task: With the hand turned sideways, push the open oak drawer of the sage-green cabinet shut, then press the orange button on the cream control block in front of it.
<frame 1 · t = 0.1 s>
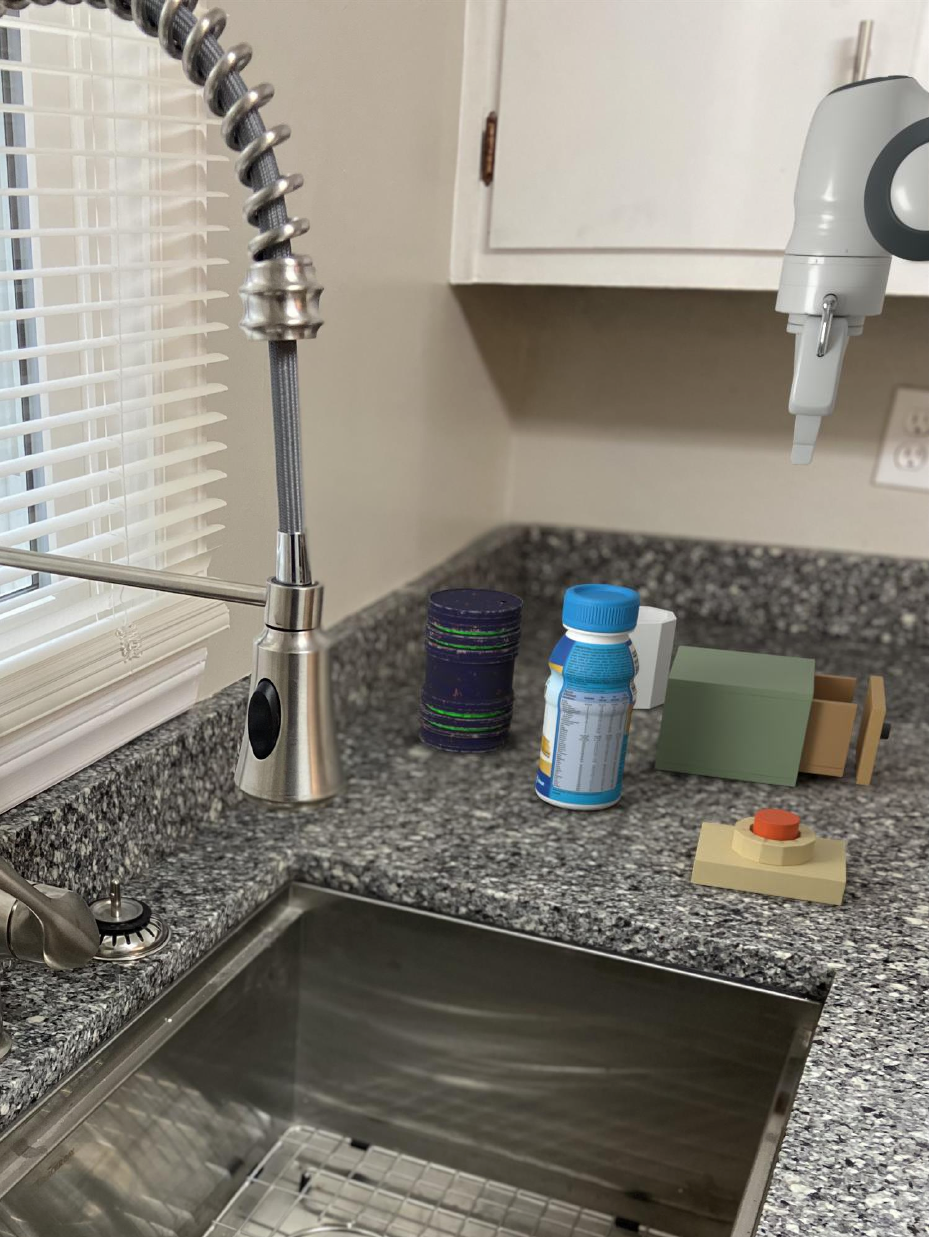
hand: (801, 456, 133), 31 cm above the worktop, tool pointing down, fingers open, 8 cm apart
drawer: (816, 723, 146), point 5 cm above the worktop, slide at 5.5 cm
storage jar: (463, 739, 156), on the worktop
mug: (611, 697, 170), on the worktop
control block: (766, 873, 125), on the worktop
beverage bottle: (576, 798, 141), on the worktop
button: (776, 826, 123), point 4 cm above the worktop, slide at 0.1 cm
cabinet: (727, 758, 151), on the worktop
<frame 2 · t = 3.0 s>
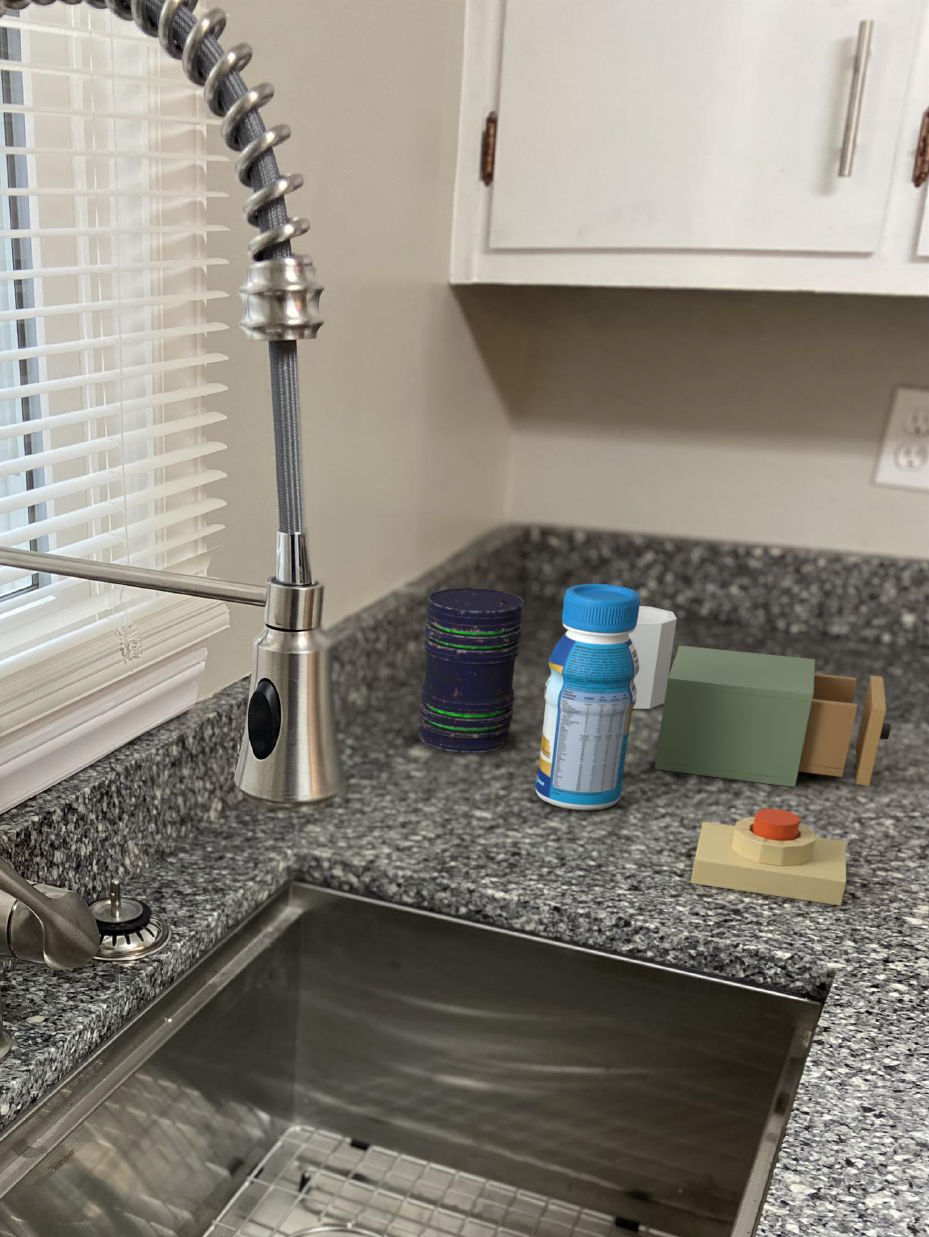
nothing on the worktop moved.
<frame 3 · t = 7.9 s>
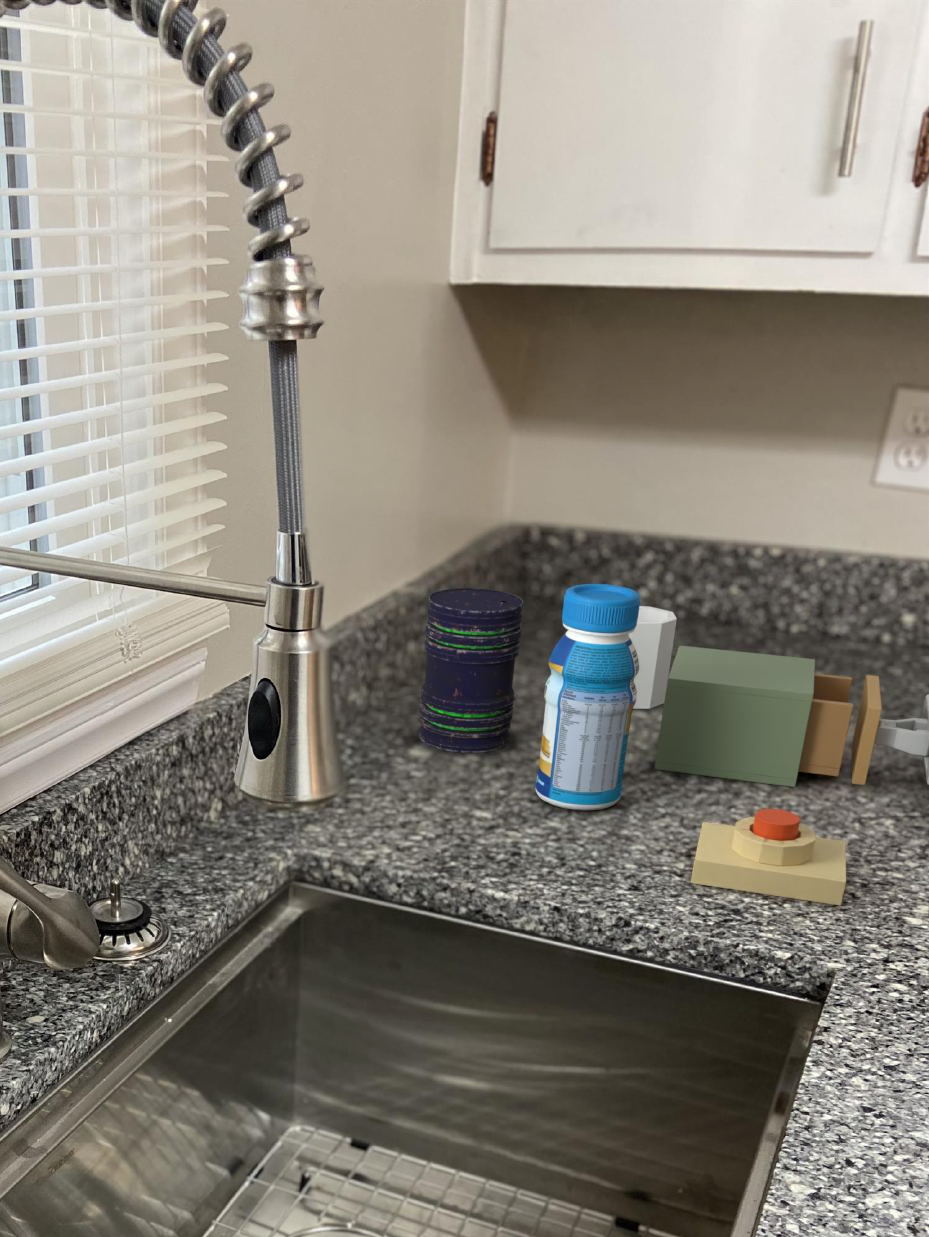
hand: (874, 731, 142), 5 cm above the worktop, tool horizontal, fingers closed
drawer: (812, 722, 146), point 5 cm above the worktop, slide at 5.1 cm, touching gripper
everything else where it was.
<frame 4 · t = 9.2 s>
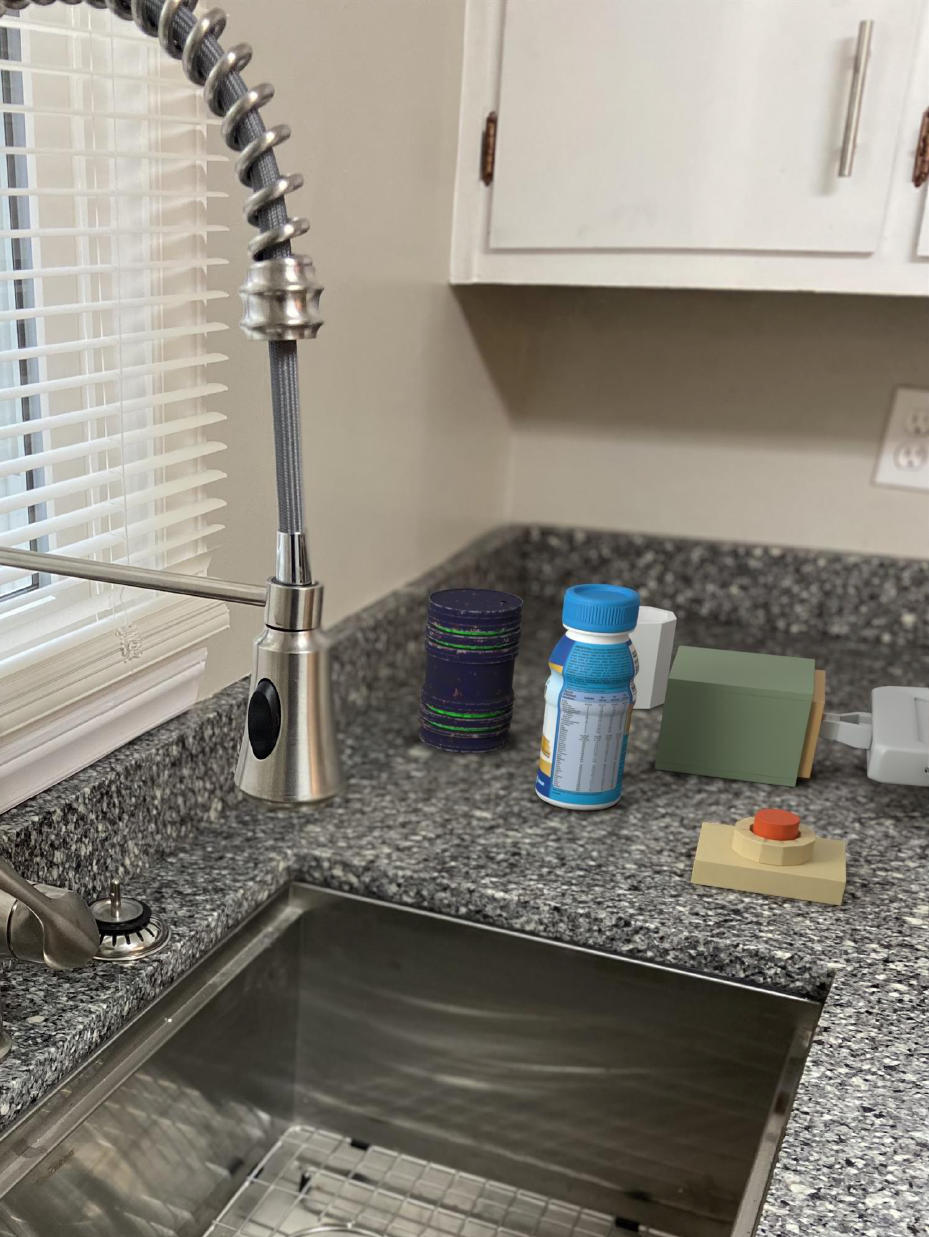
hand: (819, 724, 144), 5 cm above the worktop, tool horizontal, fingers closed, pressing on drawer
drawer: (759, 716, 148), point 5 cm above the worktop, slide at 0.0 cm, touching cabinet, gripper
everything else where it was.
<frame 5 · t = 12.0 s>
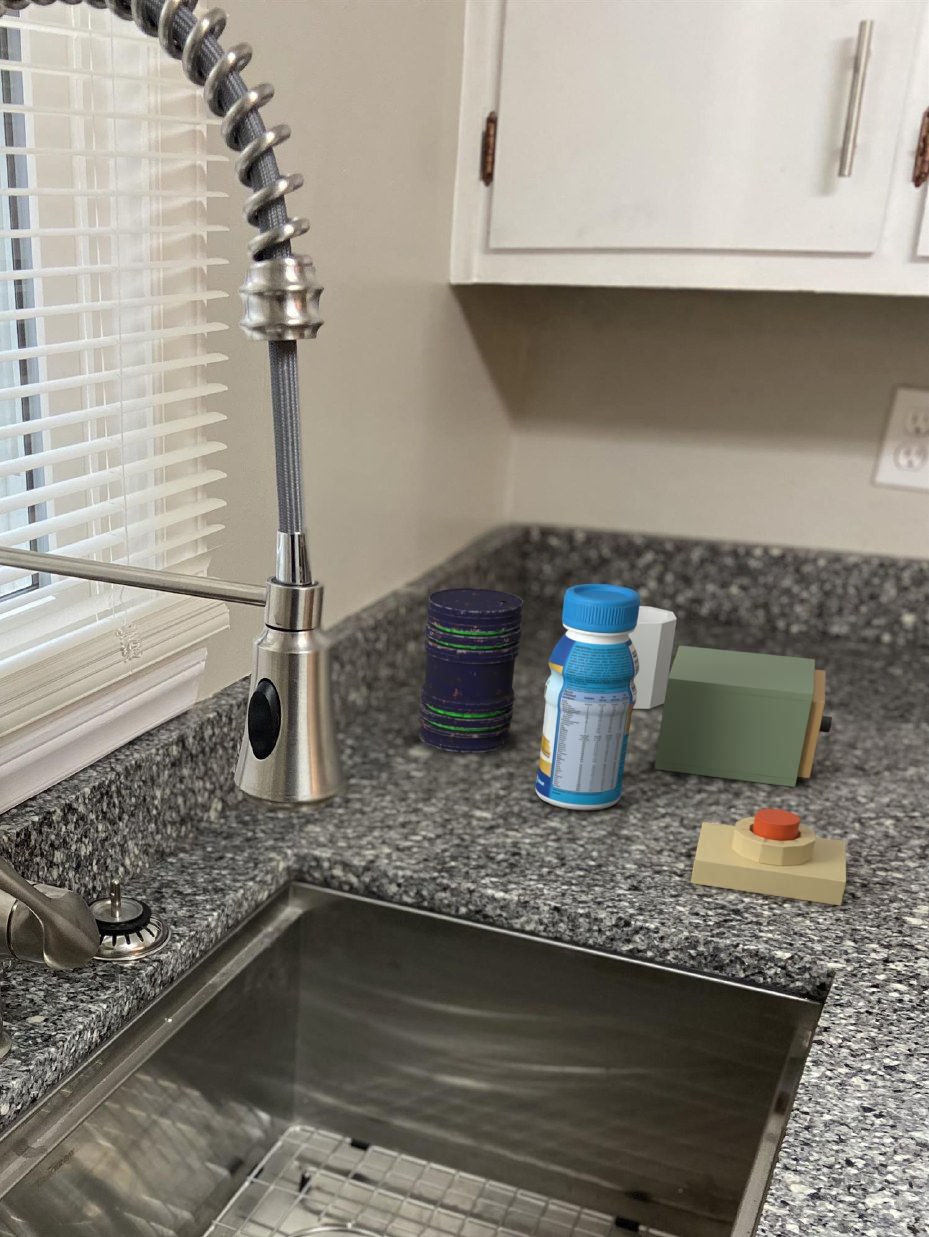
drawer: (759, 716, 148), point 5 cm above the worktop, slide at 0.0 cm, touching cabinet
everything else where it was.
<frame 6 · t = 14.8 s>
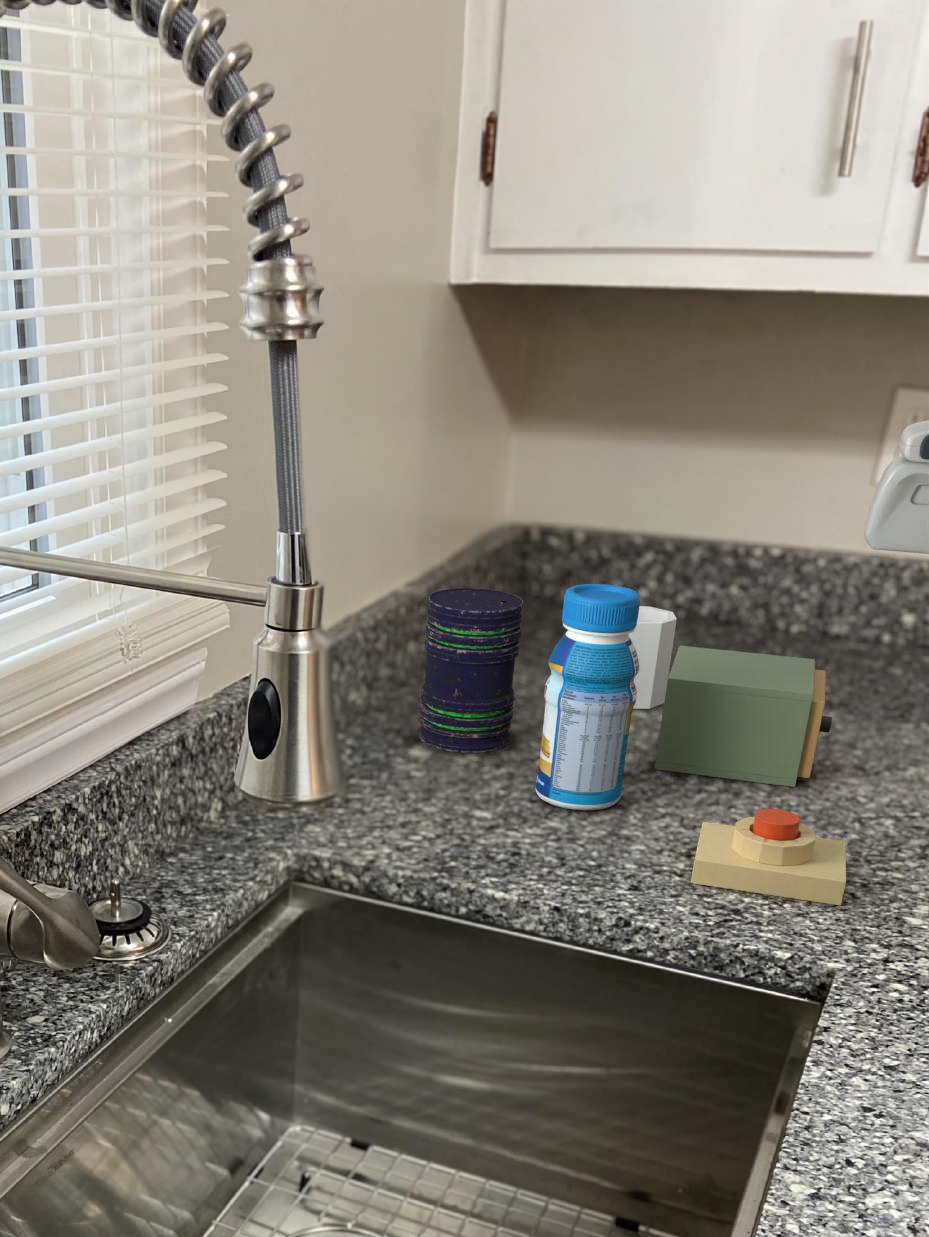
nothing on the worktop moved.
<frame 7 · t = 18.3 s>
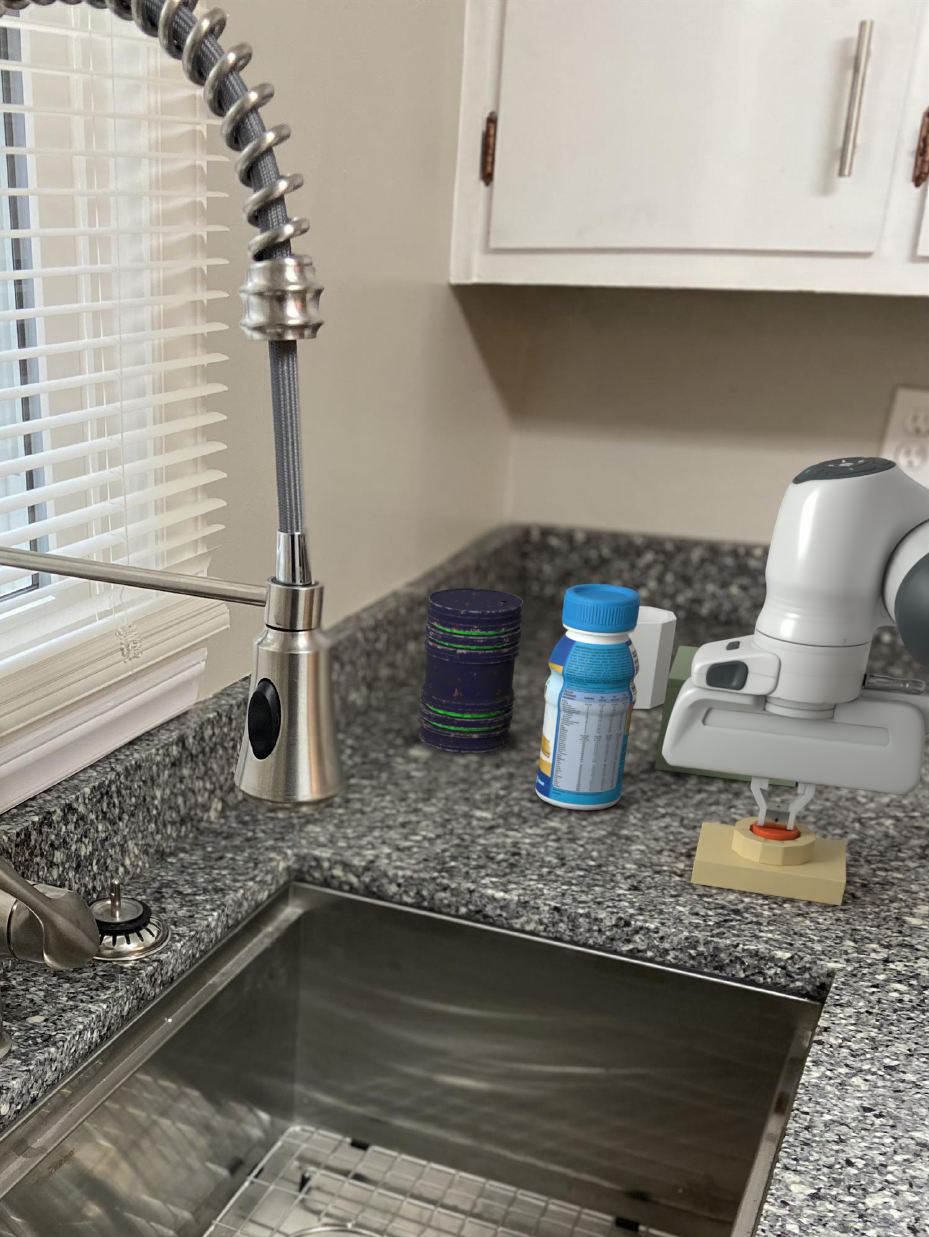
hand: (774, 826, 123), 4 cm above the worktop, tool pointing down, fingers closed, pressing on button
button: (774, 835, 124), point 4 cm above the worktop, slide at -0.9 cm, touching gripper
everything else where it was.
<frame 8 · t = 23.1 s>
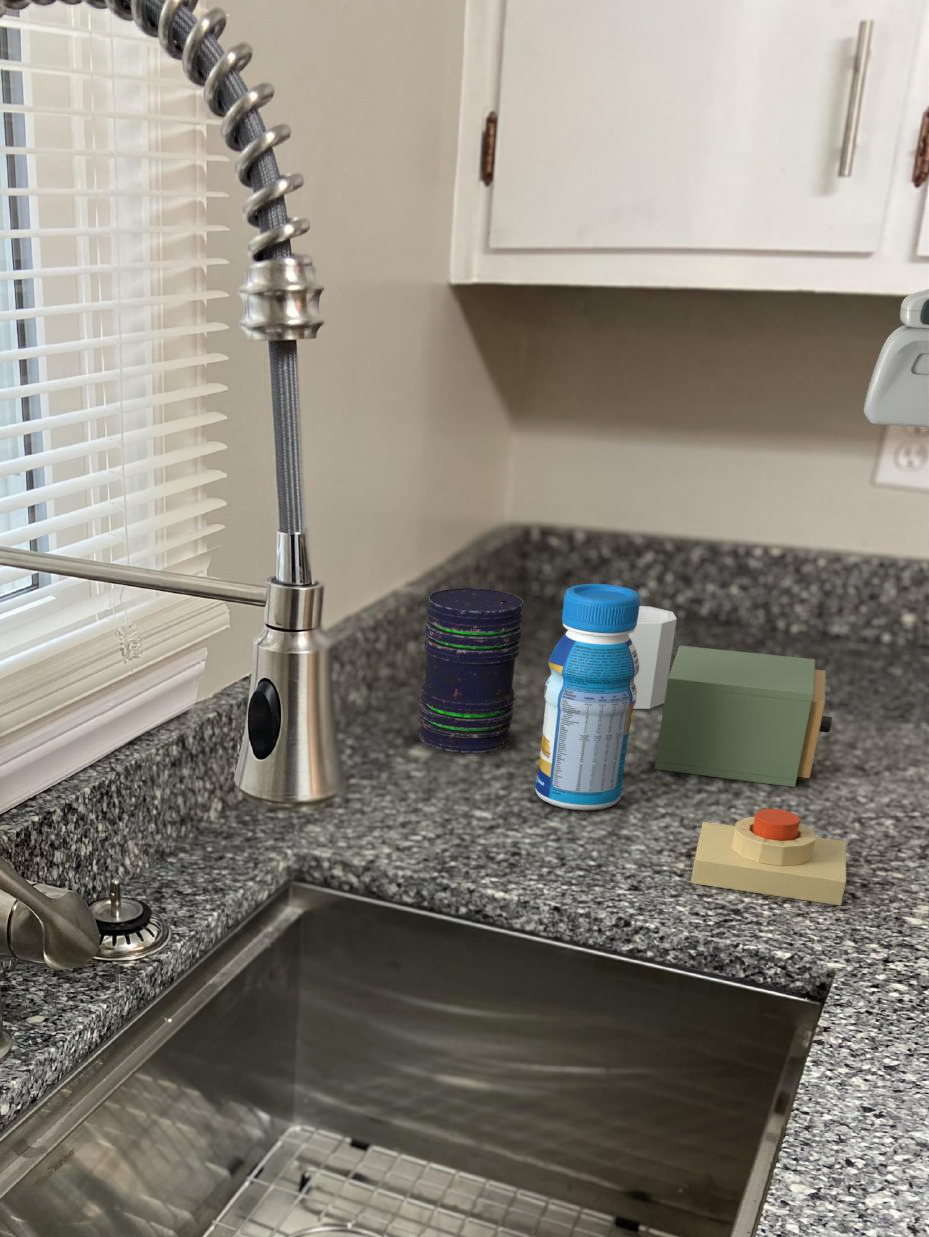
button: (776, 826, 123), point 4 cm above the worktop, slide at 0.1 cm
everything else where it was.
at the end: drawer slide at 0.0 cm; button pushed in 1.1 cm at the most during the clip, back to where it started at the end; button slide at 0.1 cm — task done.
